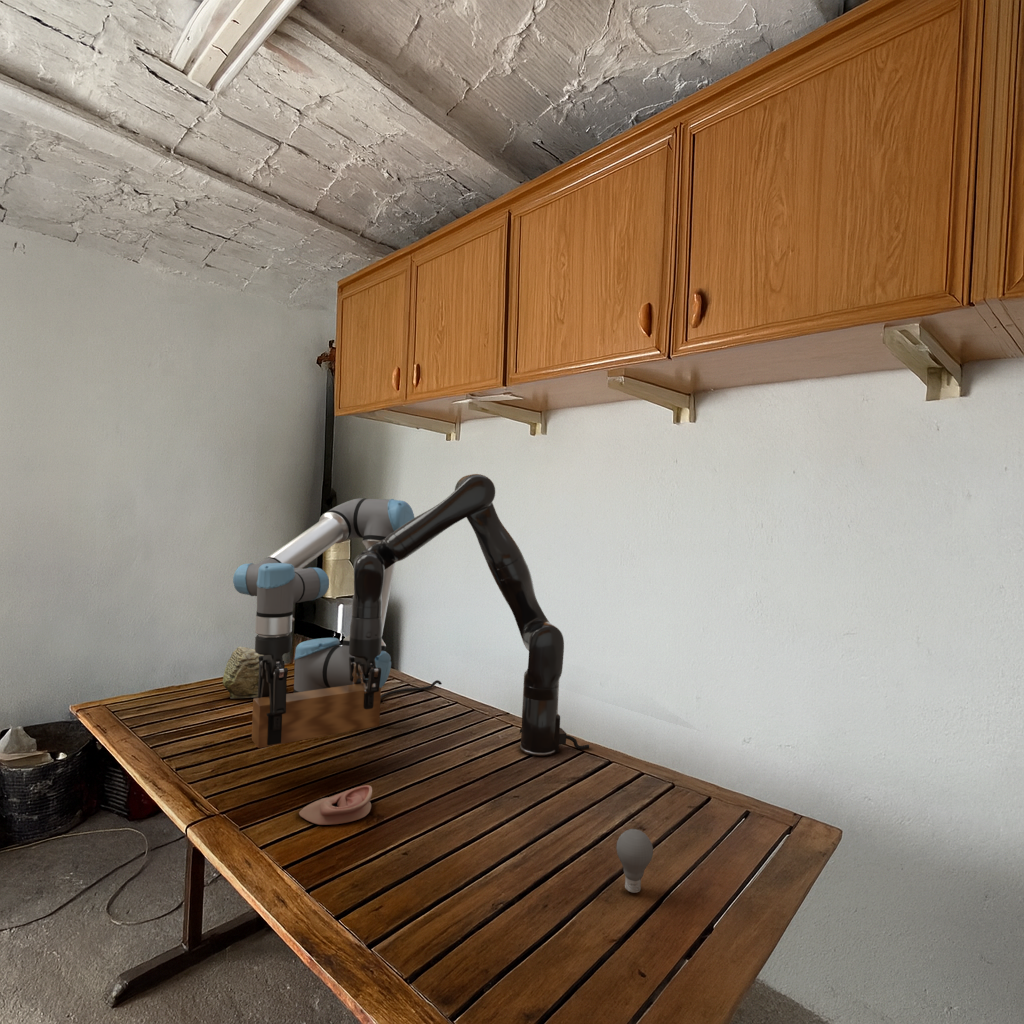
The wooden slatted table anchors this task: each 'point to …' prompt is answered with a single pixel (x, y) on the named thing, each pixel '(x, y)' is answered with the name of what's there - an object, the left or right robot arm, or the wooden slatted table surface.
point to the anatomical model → (339, 807)
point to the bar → (317, 714)
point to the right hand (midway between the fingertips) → (363, 704)
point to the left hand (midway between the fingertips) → (270, 738)
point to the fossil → (242, 673)
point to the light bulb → (634, 857)
